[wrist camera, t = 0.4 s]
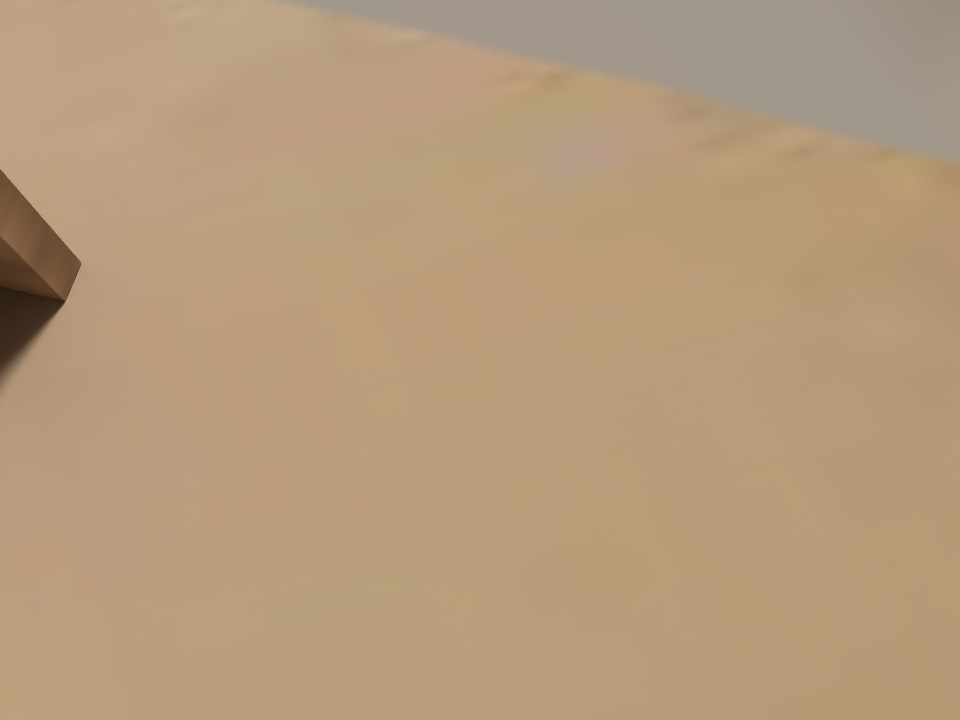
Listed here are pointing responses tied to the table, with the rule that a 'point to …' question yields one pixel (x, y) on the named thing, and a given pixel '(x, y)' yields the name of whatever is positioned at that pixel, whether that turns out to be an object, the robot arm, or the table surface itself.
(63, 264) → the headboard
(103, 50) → the table surface
